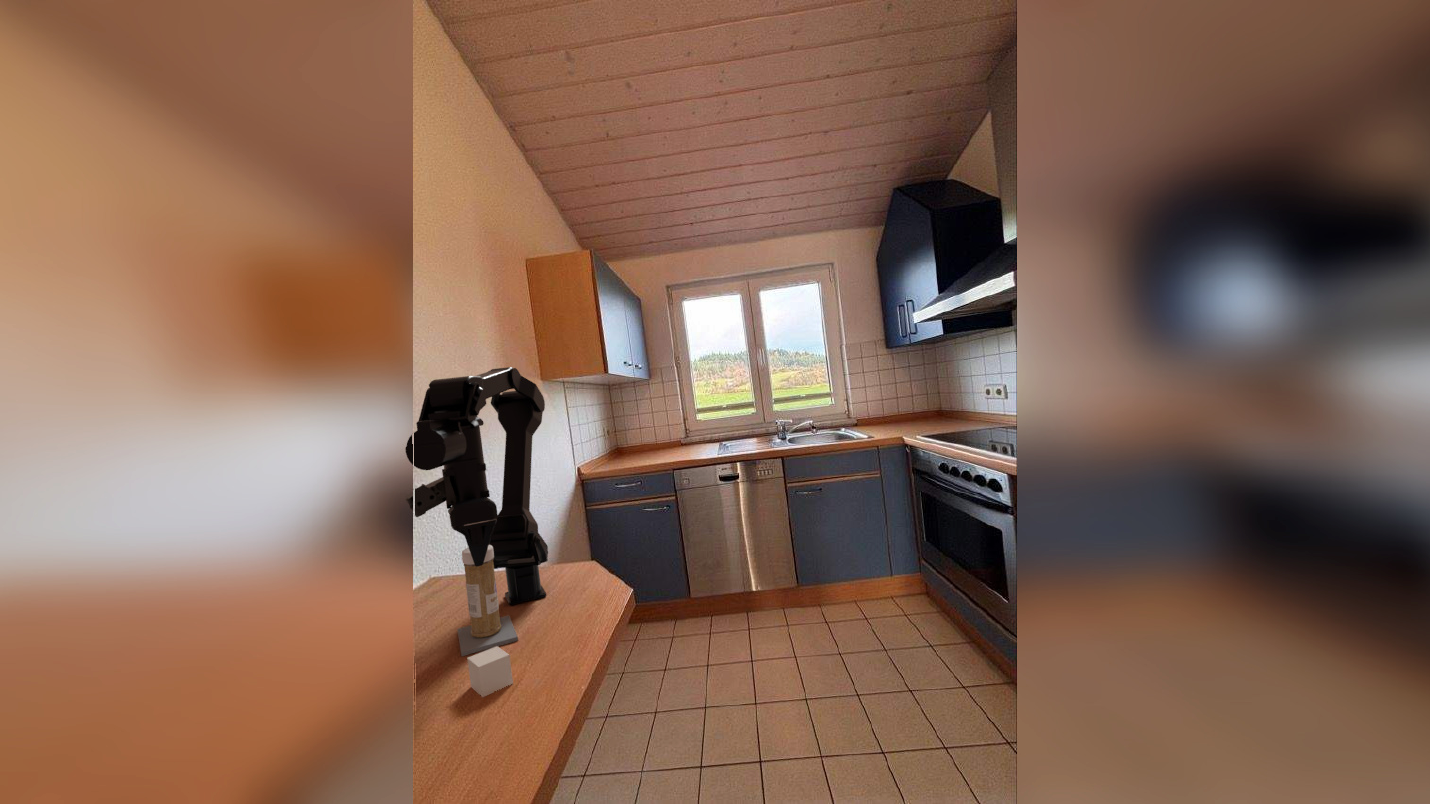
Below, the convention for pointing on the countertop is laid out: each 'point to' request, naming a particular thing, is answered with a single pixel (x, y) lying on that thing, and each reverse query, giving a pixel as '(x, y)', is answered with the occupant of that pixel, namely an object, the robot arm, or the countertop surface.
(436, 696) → the countertop surface
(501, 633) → the grey mat
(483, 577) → the sprinkles bottle
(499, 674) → the light grey block
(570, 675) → the countertop surface
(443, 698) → the countertop surface
